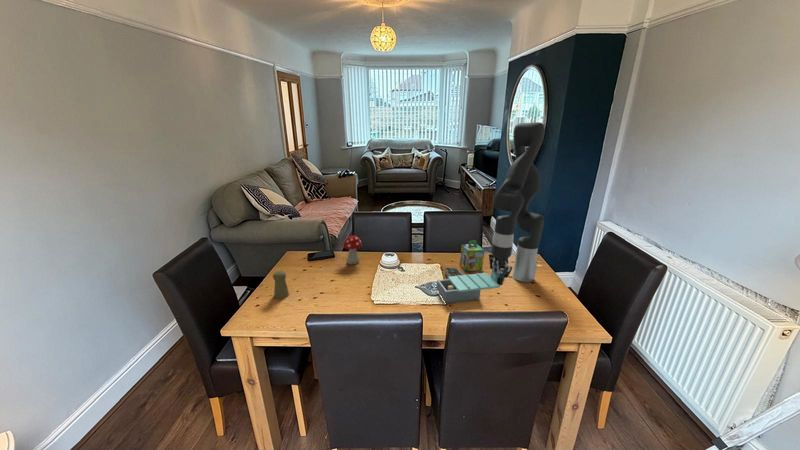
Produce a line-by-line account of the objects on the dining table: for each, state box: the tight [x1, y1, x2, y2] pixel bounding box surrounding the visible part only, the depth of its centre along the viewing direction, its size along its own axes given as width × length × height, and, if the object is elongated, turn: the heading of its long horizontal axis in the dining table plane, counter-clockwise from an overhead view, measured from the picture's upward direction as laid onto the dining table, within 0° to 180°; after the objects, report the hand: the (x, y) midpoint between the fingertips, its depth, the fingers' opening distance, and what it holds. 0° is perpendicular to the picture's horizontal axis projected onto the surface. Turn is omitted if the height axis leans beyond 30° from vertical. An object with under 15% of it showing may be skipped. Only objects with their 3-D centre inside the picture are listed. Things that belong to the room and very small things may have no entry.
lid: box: [447, 271, 506, 292], centre depth 127 cm, size 21×11×3 cm, turn 105°
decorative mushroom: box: [342, 235, 363, 265], centre depth 170 cm, size 10×9×15 cm
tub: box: [436, 278, 481, 305], centre depth 142 cm, size 16×10×6 cm, turn 105°
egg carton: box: [444, 266, 465, 279], centre depth 159 cm, size 11×8×4 cm
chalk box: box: [459, 239, 485, 272], centre depth 167 cm, size 9×9×15 cm
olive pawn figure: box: [272, 270, 290, 300], centre depth 139 cm, size 6×6×11 cm
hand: (497, 282), depth 130 cm, fingers closed on lid, 3 cm apart
